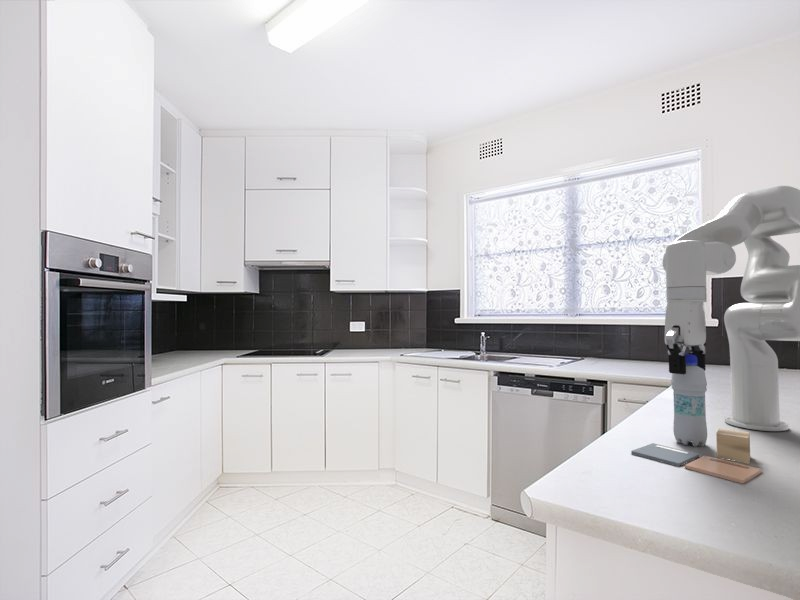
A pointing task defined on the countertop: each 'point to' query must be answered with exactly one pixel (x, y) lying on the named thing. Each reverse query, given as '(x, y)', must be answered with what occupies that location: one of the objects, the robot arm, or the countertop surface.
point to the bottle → (690, 404)
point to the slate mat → (665, 454)
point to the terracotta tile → (724, 469)
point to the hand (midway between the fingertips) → (687, 372)
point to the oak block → (733, 445)
